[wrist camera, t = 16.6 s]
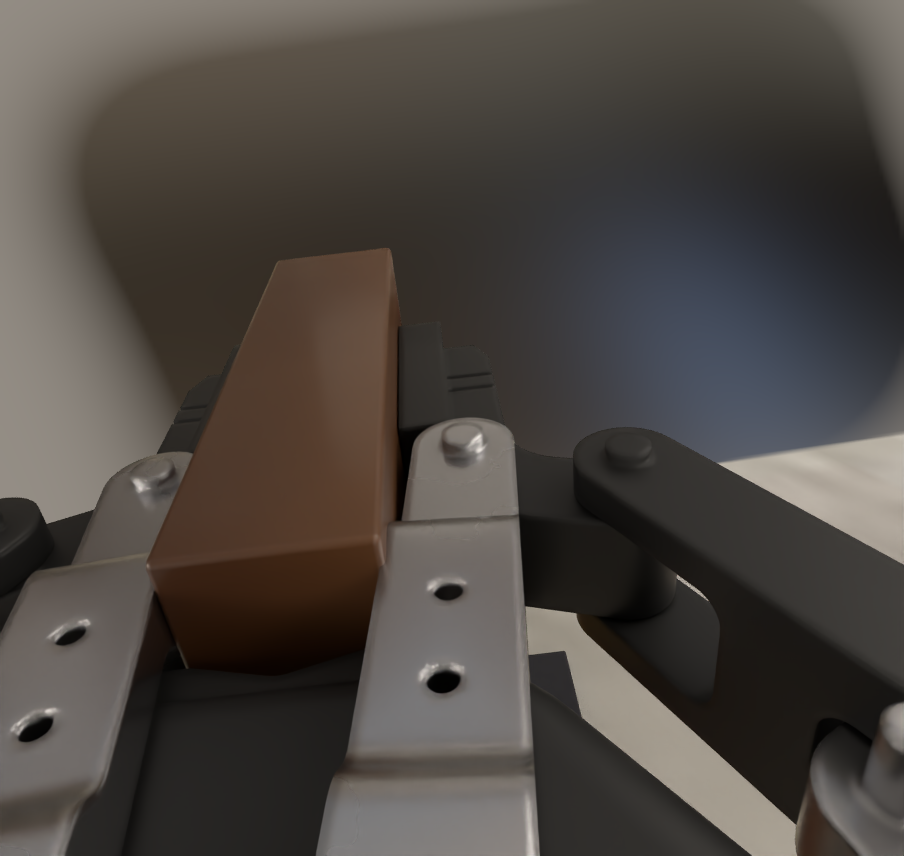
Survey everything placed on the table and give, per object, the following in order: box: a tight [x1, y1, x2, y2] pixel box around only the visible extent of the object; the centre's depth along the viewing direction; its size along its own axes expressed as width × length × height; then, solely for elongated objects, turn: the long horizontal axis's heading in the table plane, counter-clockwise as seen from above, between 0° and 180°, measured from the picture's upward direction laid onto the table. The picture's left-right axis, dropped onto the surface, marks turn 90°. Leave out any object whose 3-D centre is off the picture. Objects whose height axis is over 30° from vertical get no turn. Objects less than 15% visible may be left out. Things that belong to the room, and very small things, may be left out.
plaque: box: [146, 248, 407, 676], centre depth 13 cm, size 5×8×12 cm, turn 4°
